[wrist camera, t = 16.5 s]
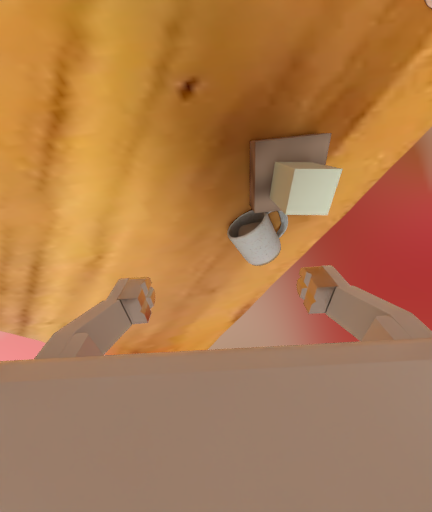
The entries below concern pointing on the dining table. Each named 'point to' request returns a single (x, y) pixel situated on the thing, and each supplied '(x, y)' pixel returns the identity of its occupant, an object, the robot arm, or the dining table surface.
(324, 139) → the walnut block
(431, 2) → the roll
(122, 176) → the dining table surface
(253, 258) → the ceramic mug
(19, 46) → the dining table surface
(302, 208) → the sage block
